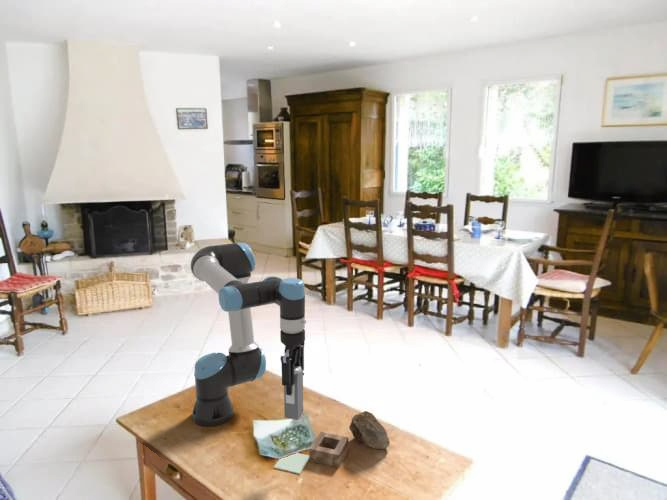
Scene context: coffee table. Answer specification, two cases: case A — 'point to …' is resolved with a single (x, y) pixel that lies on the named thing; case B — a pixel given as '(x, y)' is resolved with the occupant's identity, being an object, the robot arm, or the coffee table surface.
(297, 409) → the plug
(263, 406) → the coffee table surface
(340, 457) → the brown square frame
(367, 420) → the rock
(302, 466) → the mat
